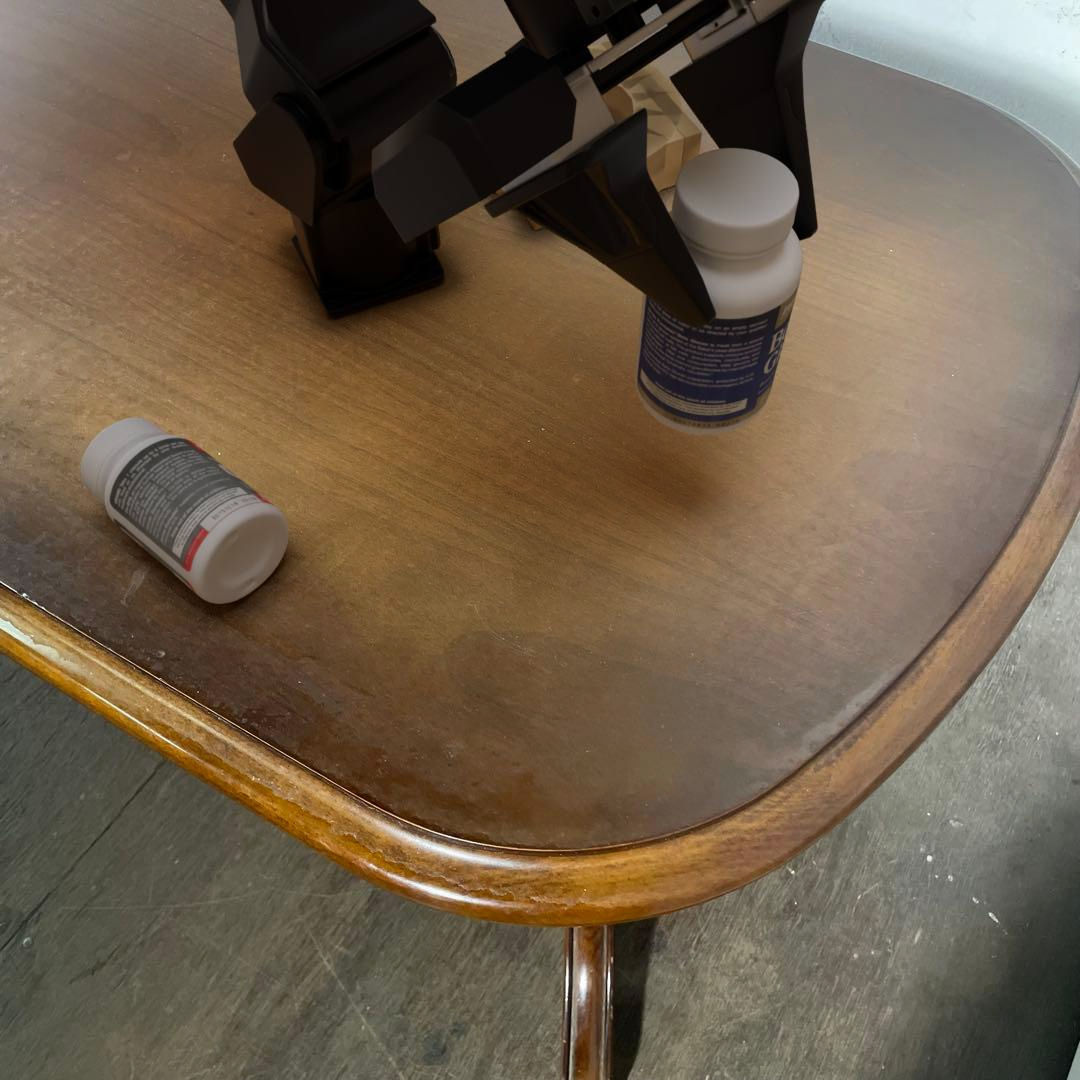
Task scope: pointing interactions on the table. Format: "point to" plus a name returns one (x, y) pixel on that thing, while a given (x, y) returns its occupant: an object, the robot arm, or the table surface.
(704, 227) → the pill bottle
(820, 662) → the table surface
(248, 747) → the table surface
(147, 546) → the pill bottle
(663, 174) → the socket plate
